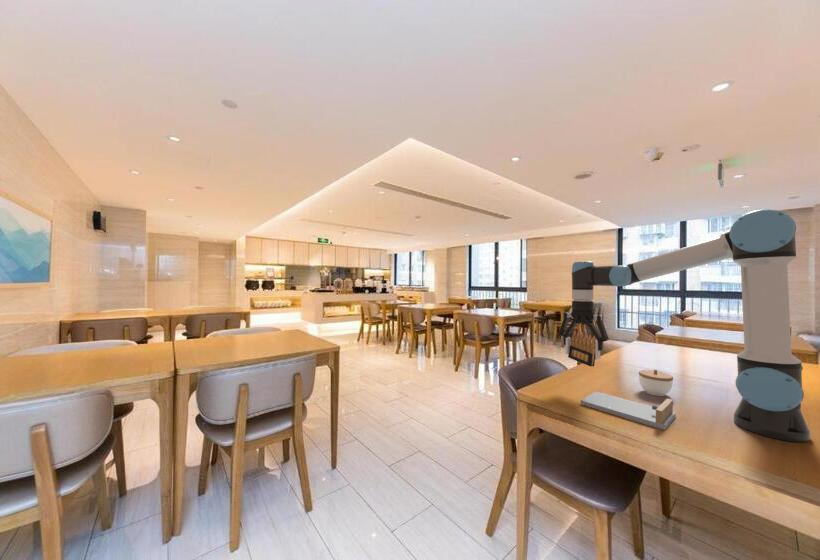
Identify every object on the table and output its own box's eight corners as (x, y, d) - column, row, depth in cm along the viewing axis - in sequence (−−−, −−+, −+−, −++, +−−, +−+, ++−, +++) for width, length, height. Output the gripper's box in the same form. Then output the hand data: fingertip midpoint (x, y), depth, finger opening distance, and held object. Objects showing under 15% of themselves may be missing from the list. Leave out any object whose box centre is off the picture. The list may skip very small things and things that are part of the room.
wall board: (675, 417, 103) (675, 400, 103) (664, 430, 94) (665, 412, 94) (595, 395, 121) (595, 381, 121) (580, 404, 112) (580, 389, 112)
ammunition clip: (594, 366, 120) (598, 336, 119) (590, 366, 119) (595, 336, 118) (571, 356, 130) (574, 328, 129) (567, 357, 129) (571, 328, 128)
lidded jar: (660, 389, 129) (660, 366, 128) (680, 399, 118) (680, 374, 118) (632, 387, 130) (632, 365, 129) (649, 398, 119) (650, 373, 119)
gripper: (619, 301, 117) (618, 360, 118) (558, 298, 135) (558, 349, 135) (611, 302, 113) (611, 363, 113) (549, 299, 130) (549, 352, 130)
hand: (582, 356), depth 124 cm, fingers closed on ammunition clip, 10 cm apart
